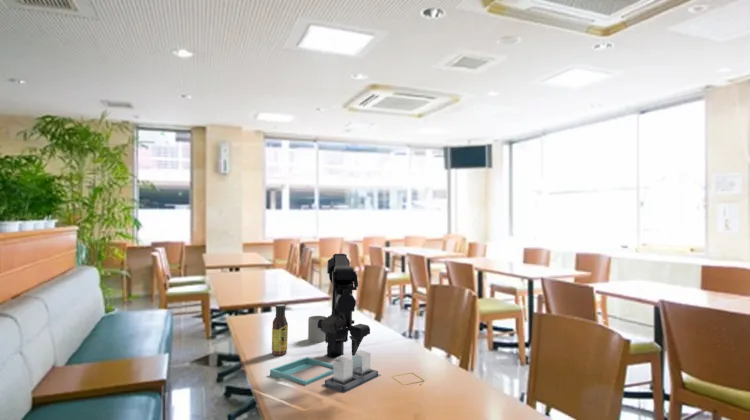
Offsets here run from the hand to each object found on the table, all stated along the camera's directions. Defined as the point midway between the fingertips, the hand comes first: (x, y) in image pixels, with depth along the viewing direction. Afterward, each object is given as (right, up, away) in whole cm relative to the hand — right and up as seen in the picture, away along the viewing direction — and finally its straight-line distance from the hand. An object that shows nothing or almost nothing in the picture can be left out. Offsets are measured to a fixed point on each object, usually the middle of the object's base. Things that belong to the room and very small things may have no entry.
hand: (342, 352), depth 149 cm
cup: (-16, -12, +55) cm, 58 cm away
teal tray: (-14, -12, +11) cm, 21 cm away
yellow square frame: (+22, -13, +5) cm, 26 cm away
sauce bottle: (-28, -12, +35) cm, 46 cm away
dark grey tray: (+3, -12, +3) cm, 13 cm away
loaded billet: (+6, -11, +7) cm, 14 cm away
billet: (0, -10, -1) cm, 10 cm away
